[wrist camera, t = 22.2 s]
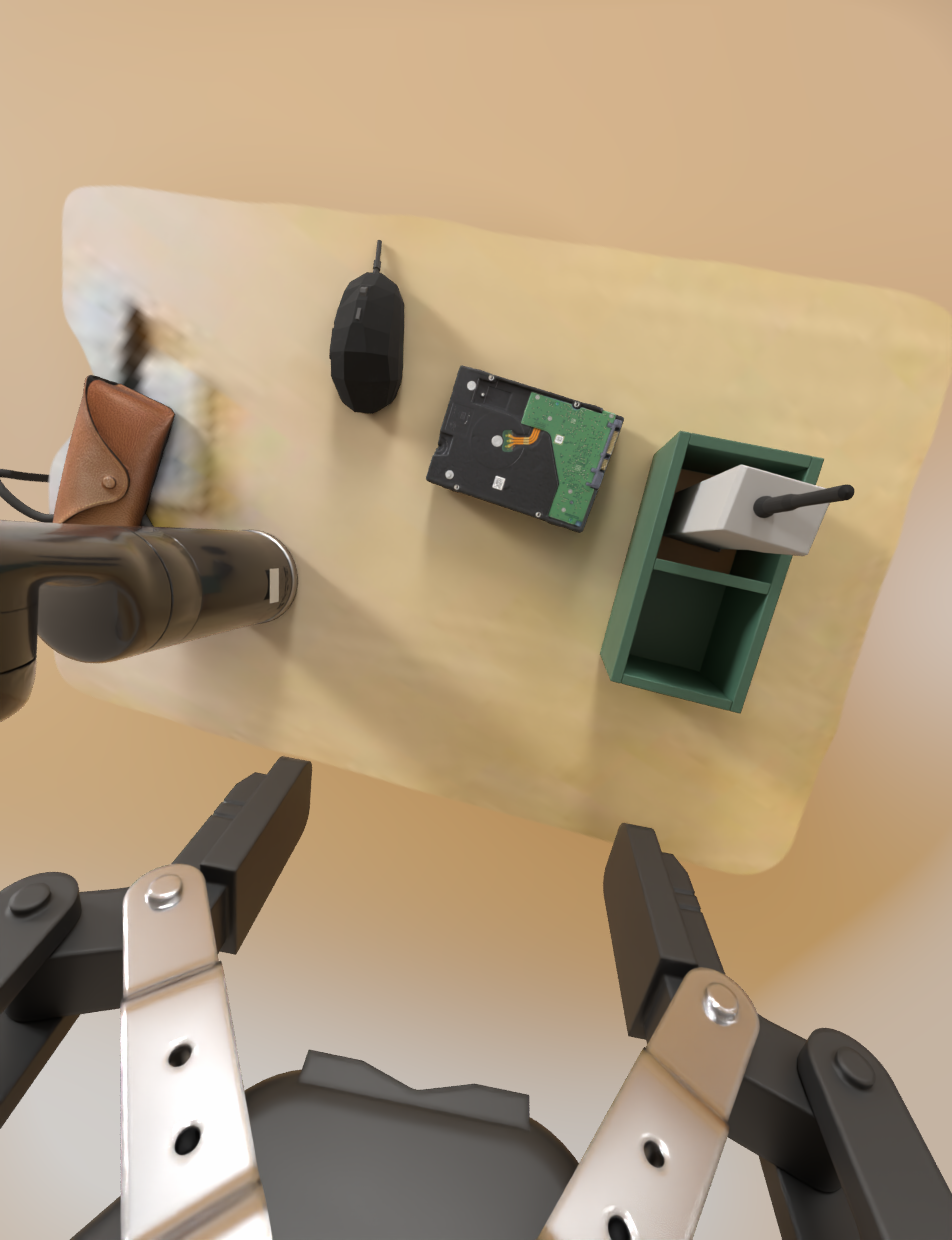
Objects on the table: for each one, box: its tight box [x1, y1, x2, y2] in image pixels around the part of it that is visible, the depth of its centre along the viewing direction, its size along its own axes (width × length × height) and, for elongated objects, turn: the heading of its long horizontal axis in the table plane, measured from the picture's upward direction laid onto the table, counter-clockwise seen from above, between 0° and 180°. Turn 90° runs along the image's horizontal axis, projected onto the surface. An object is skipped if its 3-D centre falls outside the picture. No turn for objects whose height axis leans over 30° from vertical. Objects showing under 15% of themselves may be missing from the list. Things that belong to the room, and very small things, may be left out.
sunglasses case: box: [53, 375, 175, 527], centre depth 52 cm, size 18×7×7 cm, turn 158°
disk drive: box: [426, 365, 624, 533], centre depth 45 cm, size 10×3×15 cm
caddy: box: [600, 431, 824, 713], centre depth 41 cm, size 10×18×10 cm, turn 167°
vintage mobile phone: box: [662, 465, 854, 556], centre depth 32 cm, size 4×5×25 cm
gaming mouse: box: [329, 240, 404, 414], centre depth 45 cm, size 6×15×4 cm, turn 173°
